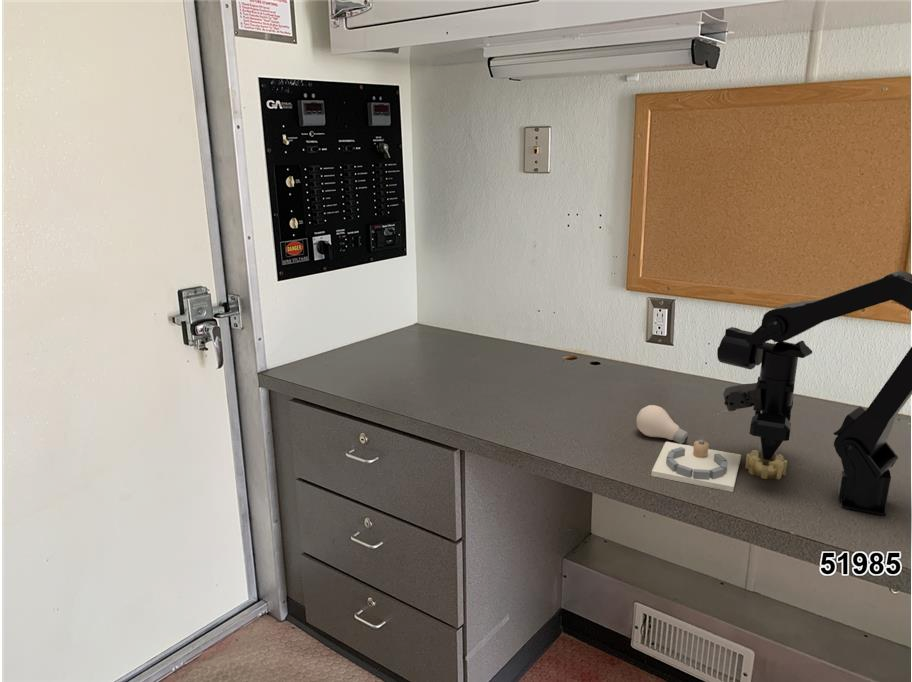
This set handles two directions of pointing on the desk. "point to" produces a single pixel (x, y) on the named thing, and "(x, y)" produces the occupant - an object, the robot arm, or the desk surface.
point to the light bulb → (659, 424)
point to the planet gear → (765, 464)
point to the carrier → (697, 465)
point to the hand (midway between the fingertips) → (767, 455)
